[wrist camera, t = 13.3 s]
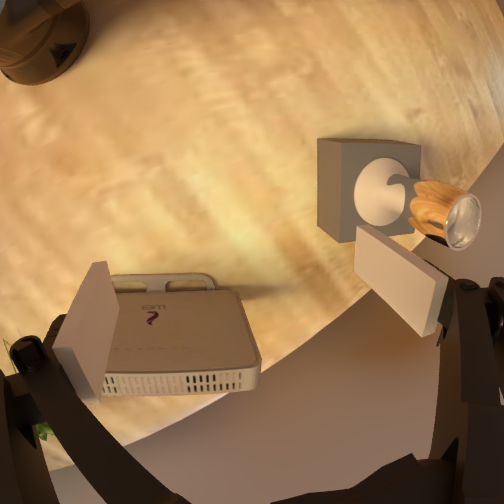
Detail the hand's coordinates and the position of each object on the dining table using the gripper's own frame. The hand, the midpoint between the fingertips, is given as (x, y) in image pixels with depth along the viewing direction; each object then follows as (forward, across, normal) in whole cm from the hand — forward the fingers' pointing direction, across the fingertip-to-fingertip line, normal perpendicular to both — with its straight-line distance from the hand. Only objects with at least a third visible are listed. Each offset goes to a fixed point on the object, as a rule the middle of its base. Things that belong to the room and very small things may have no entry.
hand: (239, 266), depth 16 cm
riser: (+31, +25, -4) cm, 40 cm away
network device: (+32, -10, -19) cm, 38 cm away
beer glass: (+23, +26, -3) cm, 35 cm away
